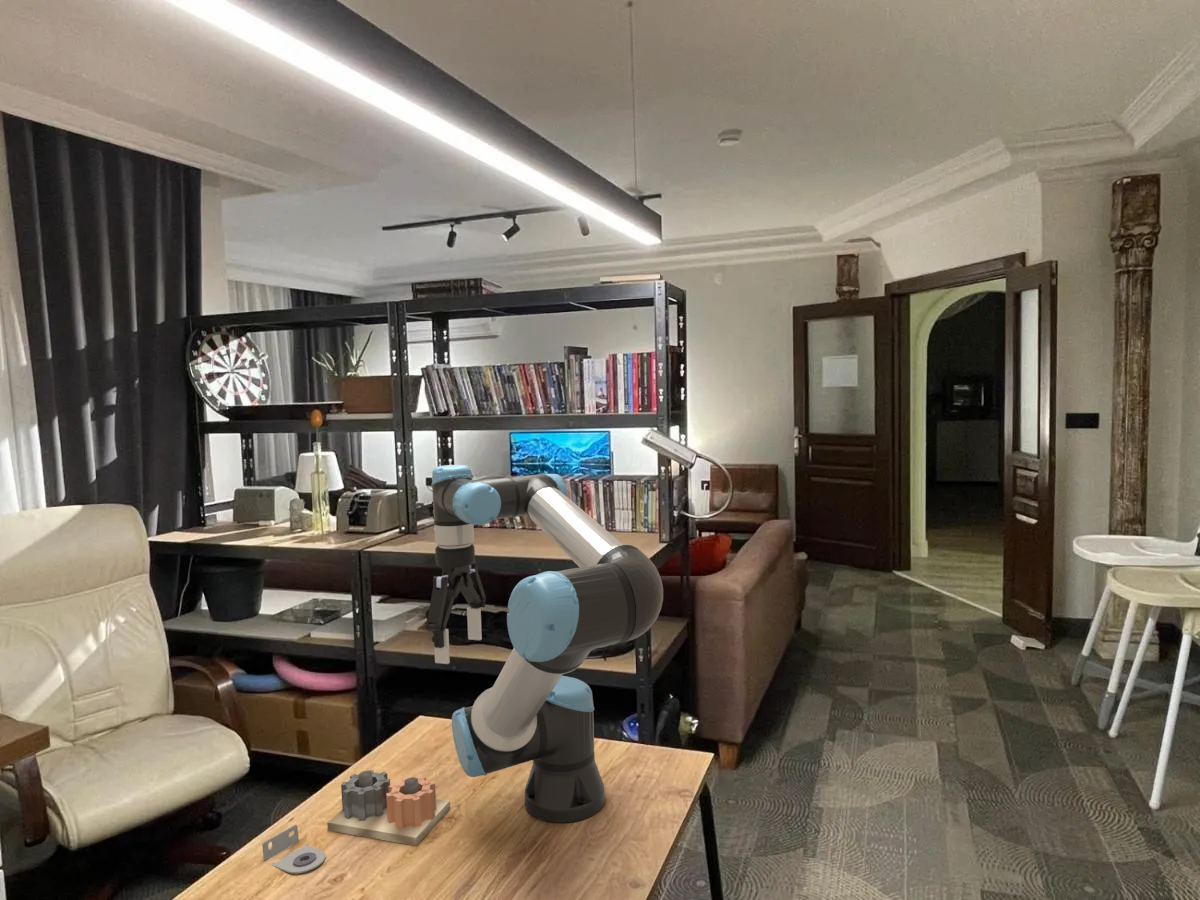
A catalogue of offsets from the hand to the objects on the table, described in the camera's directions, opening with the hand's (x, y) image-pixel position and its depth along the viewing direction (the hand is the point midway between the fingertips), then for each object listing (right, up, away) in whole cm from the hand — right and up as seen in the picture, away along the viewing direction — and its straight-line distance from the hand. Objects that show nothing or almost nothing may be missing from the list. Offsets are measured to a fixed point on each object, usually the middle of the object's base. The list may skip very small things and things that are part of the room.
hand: (459, 650), depth 151 cm
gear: (-6, -27, -12) cm, 30 cm away
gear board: (-11, -28, -11) cm, 32 cm away
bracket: (-23, -30, -21) cm, 44 cm away
